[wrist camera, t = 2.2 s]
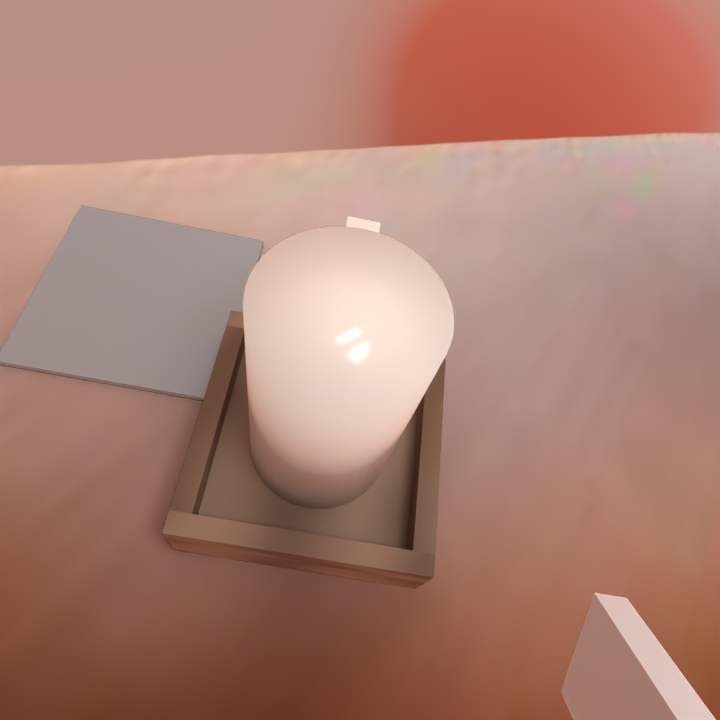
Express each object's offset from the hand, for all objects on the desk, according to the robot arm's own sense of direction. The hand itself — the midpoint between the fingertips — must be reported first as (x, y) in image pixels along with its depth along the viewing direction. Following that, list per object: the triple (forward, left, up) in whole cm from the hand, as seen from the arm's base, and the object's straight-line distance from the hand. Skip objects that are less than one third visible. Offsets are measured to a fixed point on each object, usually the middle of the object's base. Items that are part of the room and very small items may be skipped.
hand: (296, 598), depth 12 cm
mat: (+12, -17, -15) cm, 26 cm away
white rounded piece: (0, -10, -13) cm, 17 cm away
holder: (0, -9, -15) cm, 18 cm away
